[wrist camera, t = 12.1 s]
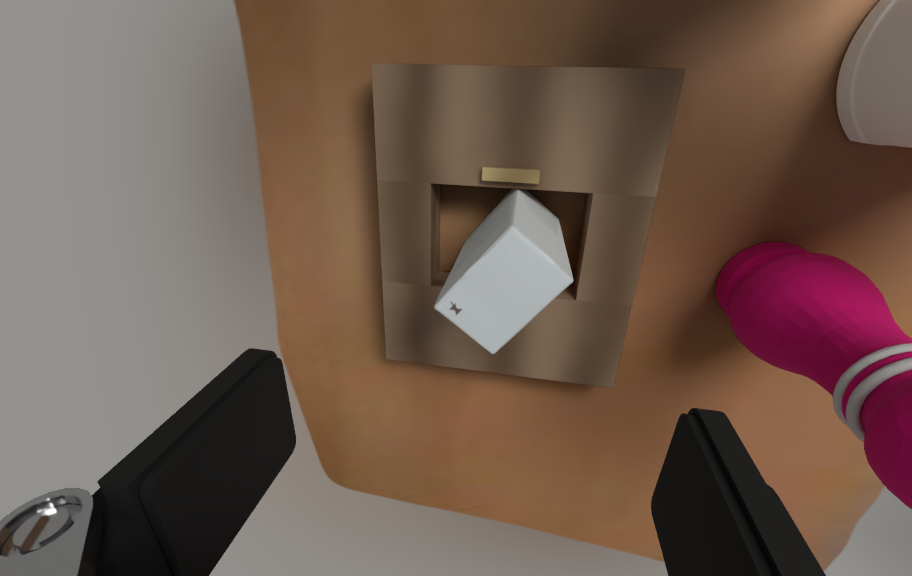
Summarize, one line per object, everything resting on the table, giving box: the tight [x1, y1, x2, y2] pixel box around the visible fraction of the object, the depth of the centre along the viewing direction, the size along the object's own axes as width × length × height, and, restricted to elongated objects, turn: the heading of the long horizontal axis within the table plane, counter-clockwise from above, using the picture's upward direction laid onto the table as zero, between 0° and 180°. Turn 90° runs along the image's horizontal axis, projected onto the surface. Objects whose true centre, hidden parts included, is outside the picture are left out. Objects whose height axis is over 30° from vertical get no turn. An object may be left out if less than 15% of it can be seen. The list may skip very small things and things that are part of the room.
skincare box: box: [434, 188, 574, 354], centre depth 26 cm, size 6×4×12 cm
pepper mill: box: [716, 242, 912, 509], centre depth 20 cm, size 7×7×20 cm
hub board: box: [371, 64, 685, 388], centre depth 30 cm, size 18×22×3 cm
